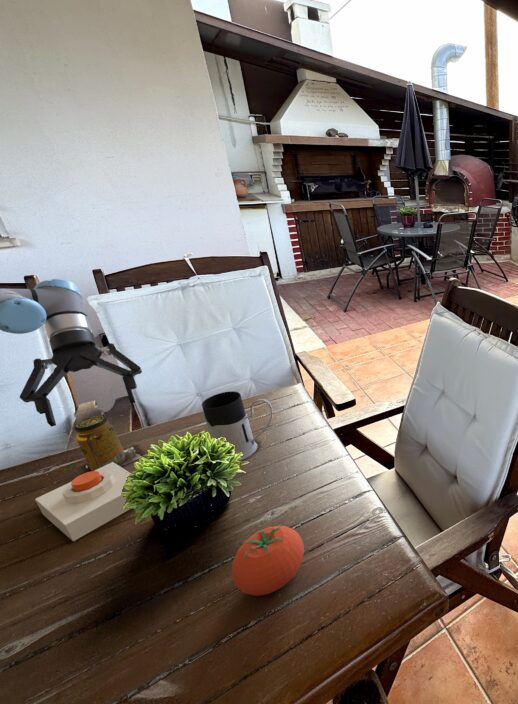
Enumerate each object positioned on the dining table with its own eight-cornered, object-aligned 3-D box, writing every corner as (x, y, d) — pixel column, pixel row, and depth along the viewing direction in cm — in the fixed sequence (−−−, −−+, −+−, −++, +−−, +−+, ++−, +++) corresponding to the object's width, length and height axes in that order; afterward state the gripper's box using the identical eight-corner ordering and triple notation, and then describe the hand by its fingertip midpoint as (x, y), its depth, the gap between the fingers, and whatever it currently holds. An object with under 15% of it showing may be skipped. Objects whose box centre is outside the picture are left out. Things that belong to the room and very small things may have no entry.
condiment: (85, 466, 93) (65, 423, 89) (132, 447, 100) (116, 406, 95) (94, 479, 89) (73, 434, 85) (142, 458, 96) (125, 416, 92)
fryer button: (70, 488, 79) (67, 481, 79) (97, 475, 83) (93, 468, 82) (79, 494, 78) (76, 487, 77) (106, 481, 81) (103, 474, 80)
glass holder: (223, 444, 101) (207, 392, 95) (285, 435, 104) (273, 385, 99) (208, 467, 93) (190, 412, 88) (276, 456, 96) (263, 403, 91)
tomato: (321, 563, 70) (311, 520, 67) (269, 620, 61) (254, 574, 58) (280, 544, 74) (268, 502, 70) (224, 595, 65) (208, 551, 61)
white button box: (43, 515, 80) (30, 491, 78) (119, 476, 90) (109, 455, 88) (73, 542, 74) (60, 517, 72) (151, 497, 84) (142, 475, 82)
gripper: (140, 330, 110) (164, 397, 105) (-1, 358, 93) (20, 439, 89) (135, 316, 104) (160, 387, 100) (-15, 344, 88) (6, 430, 83)
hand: (94, 412), depth 94 cm, fingers open, 13 cm apart
